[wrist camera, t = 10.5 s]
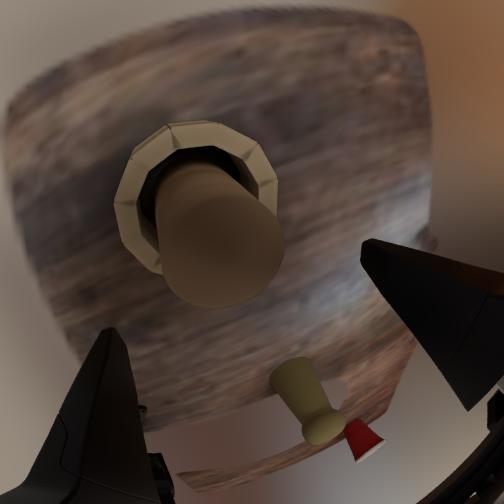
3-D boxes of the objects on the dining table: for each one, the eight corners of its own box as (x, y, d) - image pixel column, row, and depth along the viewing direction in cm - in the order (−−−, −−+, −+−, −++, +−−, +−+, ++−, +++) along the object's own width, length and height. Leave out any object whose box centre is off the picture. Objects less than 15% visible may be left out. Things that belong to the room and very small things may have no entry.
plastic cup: (370, 413, 67) (390, 441, 57) (342, 434, 68) (360, 461, 58) (362, 411, 60) (384, 442, 51) (330, 433, 61) (350, 465, 52)
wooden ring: (220, 266, 22) (233, 292, 19) (104, 231, 17) (97, 256, 14) (278, 158, 19) (303, 169, 16) (157, 99, 14) (159, 96, 11)
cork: (264, 389, 34) (299, 456, 25) (276, 361, 31) (319, 435, 22) (301, 380, 36) (339, 440, 27) (316, 353, 34) (362, 417, 25)
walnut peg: (207, 234, 20) (249, 316, 13) (142, 212, 17) (144, 294, 10) (238, 172, 18) (305, 224, 11) (172, 143, 16) (194, 175, 9)
